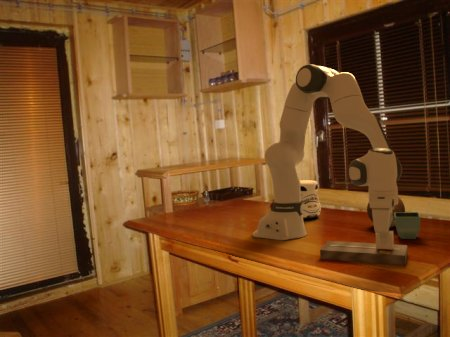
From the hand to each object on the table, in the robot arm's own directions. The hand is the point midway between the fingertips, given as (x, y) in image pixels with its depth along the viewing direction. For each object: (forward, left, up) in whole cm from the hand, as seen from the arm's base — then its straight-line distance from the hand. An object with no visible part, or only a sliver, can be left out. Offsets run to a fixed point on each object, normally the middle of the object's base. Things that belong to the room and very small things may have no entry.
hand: (384, 240), depth 132 cm
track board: (-7, 0, -6) cm, 9 cm away
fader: (0, 0, -2) cm, 2 cm away
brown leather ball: (-4, +44, -6) cm, 45 cm away
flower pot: (+5, +28, -6) cm, 29 cm away
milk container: (-44, +58, -6) cm, 73 cm away
